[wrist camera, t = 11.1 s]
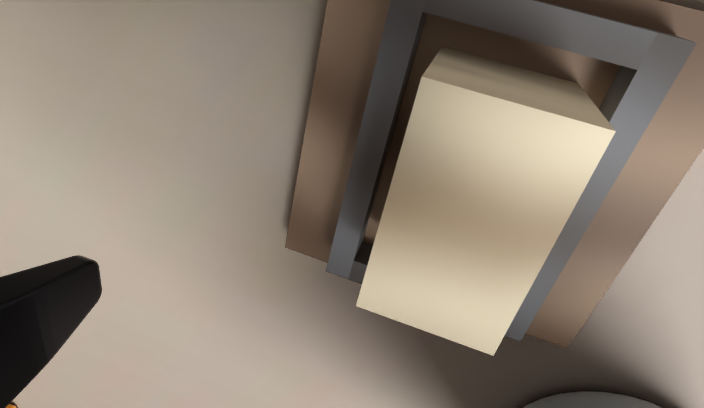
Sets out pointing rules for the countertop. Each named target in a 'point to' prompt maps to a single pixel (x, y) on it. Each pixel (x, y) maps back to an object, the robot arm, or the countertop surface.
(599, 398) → the water bottle
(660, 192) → the nest board
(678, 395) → the countertop surface
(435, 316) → the maple block
